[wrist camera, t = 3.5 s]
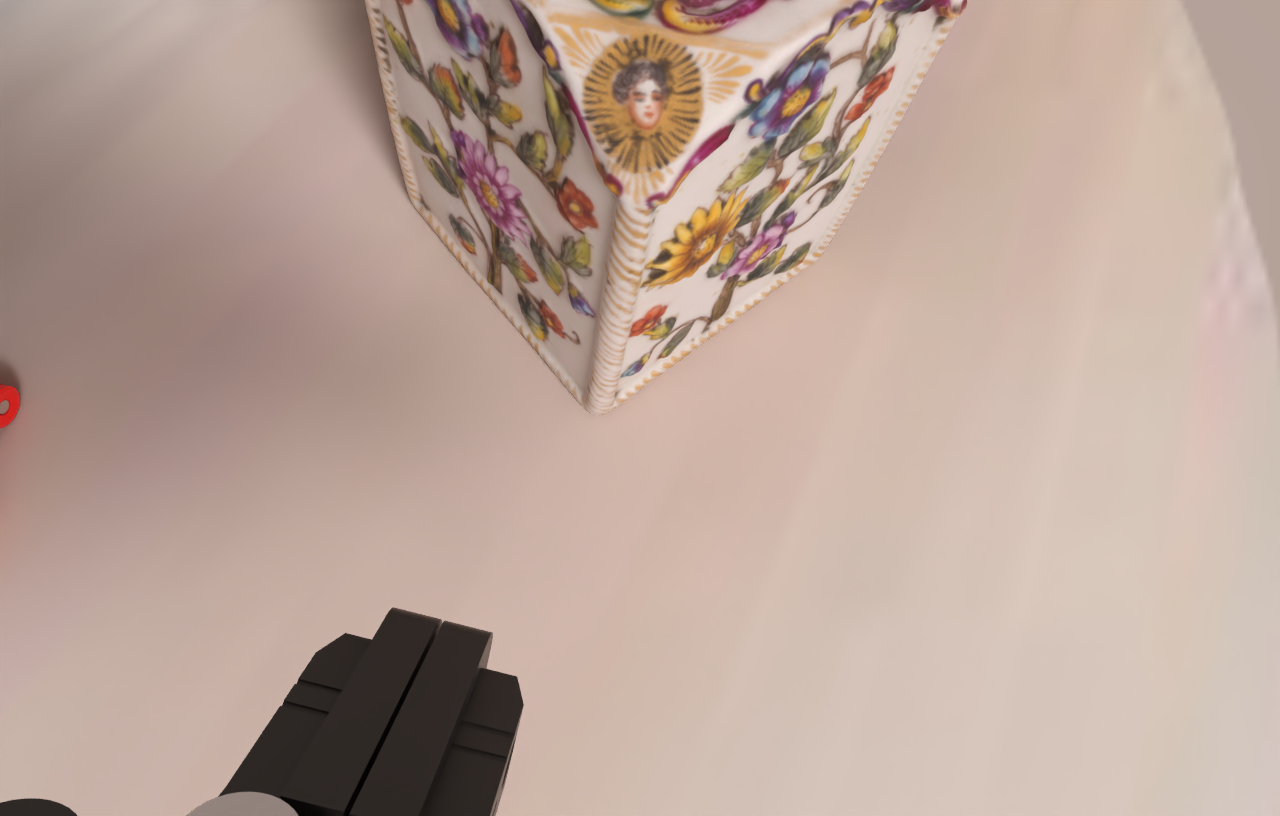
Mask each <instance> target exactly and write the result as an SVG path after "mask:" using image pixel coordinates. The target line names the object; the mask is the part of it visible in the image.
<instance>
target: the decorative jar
mask: <svg viewBox="0 0 1280 816" xmlns="http://www.w3.org/2000/svg"><path fill="white" fill-rule="evenodd" d="M364 1H365V6H366V11H367V14H368V19H369V25H370V30H371V36H372V40H373V46H374V49H375V52H376V55H375V56H376V59H377V63H378V70H379V75H380V80H381V84H382V89H383V94H384V96H385V103H386V107H387V111H388V117H389V120H390V126H391V130H392V135H393V137H394V142H395V145H396V150H397V156H398V158H399V163H400V165H401V170H402V173H403V177H404V182H405V185H406V189H407V193H408V195H409V198H410V200H411V203H412V204H413V205H414V207H415V208H416V210H417V211H418V212H419V214H421V215H422V217H423V219H424V220H425V221H426V222H427V223H428V224H429V225H430V226H431V228H432V229H433V231H434V232H435V233H436V234H437V235H438V236H439V238H440V239H441V240H442V242H443V243H444V244H445V245H446V246H447V248H448V249H449V250H450V251H451V253H452V254H453V255H454V256H455V258H456V259H457V260H458V261H459V262H460V263H461V264H462V266H463V267H464V268H465V270H466V271H467V272H468V273H469V274H470V275H471V277H472V278H473V279H474V280H475V281H476V282H477V284H478V285H479V286H480V287H481V288H482V289H483V290H484V291H485V293H486V294H487V295H488V296H489V297H490V298H491V299H492V301H493V302H494V303H495V304H496V305H497V306H498V308H499V309H500V310H501V311H502V312H503V313H504V315H505V316H506V317H507V318H508V320H509V321H510V322H511V323H512V324H513V325H514V326H515V327H516V328H517V330H518V331H519V332H520V333H521V334H522V335H523V337H524V338H525V339H526V340H527V341H528V342H529V343H530V344H531V345H532V347H533V348H534V349H535V350H536V351H537V352H538V354H539V355H540V356H541V357H542V358H543V359H544V361H545V362H546V363H547V365H548V366H549V367H550V368H551V369H552V371H553V372H554V373H555V375H556V376H557V377H558V378H559V379H560V380H561V381H562V382H563V383H564V385H565V386H566V387H567V389H568V390H569V391H570V392H571V394H572V395H573V396H574V397H575V398H576V400H577V401H578V402H579V403H580V404H581V405H582V406H583V407H584V408H585V409H586V410H587V411H588V412H589V413H591V414H593V415H597V416H599V415H603V414H605V413H608V412H610V411H612V410H613V409H614V408H616V407H617V406H619V405H620V404H621V403H622V402H624V401H625V400H627V399H628V398H630V397H631V396H632V395H634V394H635V393H636V392H638V391H639V390H640V389H641V388H643V387H644V386H646V385H647V384H648V383H649V382H651V381H652V380H653V379H655V378H656V377H657V376H659V375H661V374H662V373H663V372H664V371H666V370H667V369H668V368H670V367H672V366H673V365H674V364H676V363H677V362H679V361H680V360H681V359H683V358H684V357H685V356H687V355H688V354H689V353H690V352H692V351H693V350H694V349H696V348H697V347H699V346H700V345H701V344H703V343H704V342H706V341H707V340H709V339H710V338H711V337H713V336H714V335H716V334H717V333H719V332H720V331H721V330H723V329H724V328H726V327H727V326H728V325H729V324H730V323H732V322H734V321H735V320H736V319H738V318H739V317H740V316H742V315H743V314H744V313H746V312H747V311H748V310H750V309H751V308H753V307H754V306H755V305H756V304H757V303H759V302H760V301H762V300H763V299H764V298H765V297H767V296H768V295H769V294H770V293H772V292H773V291H775V290H776V289H777V288H779V287H780V286H781V285H783V284H784V283H786V282H787V281H788V280H790V279H791V278H793V277H794V276H796V275H797V274H798V273H800V272H801V271H802V270H803V269H805V268H806V267H808V266H810V265H811V264H813V263H814V262H815V261H817V260H818V259H819V258H820V256H821V255H822V254H823V253H824V251H825V249H826V247H827V246H828V244H829V243H830V242H831V240H832V238H833V236H834V235H835V233H836V232H837V230H838V228H839V227H840V225H841V223H842V221H843V220H844V218H845V216H846V215H847V213H848V211H849V210H850V208H851V207H852V205H853V203H854V202H855V200H856V198H857V196H858V195H859V193H860V191H861V190H862V189H863V186H864V185H865V183H866V182H867V179H868V177H869V176H870V175H871V173H872V170H873V169H874V167H875V166H876V164H877V161H878V160H879V159H880V157H881V155H882V153H883V151H884V150H885V148H886V146H887V144H888V143H889V141H890V139H891V137H892V135H893V133H894V132H895V130H896V128H897V126H898V124H899V123H900V121H901V119H902V118H903V116H904V115H905V113H906V110H907V108H908V107H909V105H910V103H911V101H912V99H913V97H914V96H915V94H916V92H917V90H918V88H919V86H920V84H921V82H922V81H923V79H924V77H925V75H926V73H927V71H928V69H929V67H930V65H931V64H932V62H933V60H934V58H935V57H936V55H937V54H938V52H939V50H940V48H941V46H942V44H943V42H944V40H945V39H946V37H947V35H948V33H949V31H950V29H951V28H952V26H953V24H954V22H955V20H956V19H957V17H958V16H959V15H961V14H962V12H963V11H964V9H965V8H966V5H967V0H364Z"/></svg>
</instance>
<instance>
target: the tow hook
mask: <svg viewBox="0 0 1280 816" xmlns="http://www.w3.org/2000/svg"><path fill="white" fill-rule="evenodd" d="M19 406H20V396H19V393H18V391H17V390H16V389H15V388H14V387H11V386H7V385H3V384H0V428H3V427H5V426H7V425H8V424H9V423H11V421H12V420H13V419H14V418H15V416H16V414H17V412H18V410H19Z"/></svg>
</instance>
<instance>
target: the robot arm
mask: <svg viewBox="0 0 1280 816" xmlns="http://www.w3.org/2000/svg"><path fill="white" fill-rule="evenodd" d="M492 638H493V633H492V632H488V631H484V630H480V629H476V628H472V627H468V626H464V625H460V624H456V623H452V622H448V621H444V622H443V623H442V620H441V619H437V618H433V617H429V616H425V615H421V614H417V613H413V612H409V611H406V610H402V609H398V608H392V609H391V610H390V611H389V612H388V614H387V615H386V617H385V619H384V621H383V622H382V624H381V626H380V627H379V629H378V631H377V632H376V634H375V636H374V637H373V639H372V640H371V639H367V638H363V637H359V636H355V635H351V634H347V633H345V634H344V635H342V636H340V637H339V638H337V639H336V640H334V641H333V642H331V643H330V644H328V645H327V646H325V647H324V648H322V649H321V650H319V651H318V652H316V653H315V655H314V656H313V658H312V659H311V661H310V662H309V664H308V665H307V667H306V668H305V670H304V671H303V673H302V674H301V676H300V677H299V679H298V682H297V684H295V685H294V686H293V688H292V689H291V691H290V692H289V694H288V695H287V697H286V698H285V700H284V702H283V705H282V706H280V707H279V709H278V710H277V712H276V713H275V715H274V716H273V718H272V719H271V720H270V722H269V723H268V725H267V726H266V728H265V729H264V731H263V732H262V734H261V735H260V737H259V738H258V740H257V741H256V743H255V744H254V746H253V747H252V749H251V750H250V752H249V753H248V755H247V756H246V758H245V759H244V761H243V762H242V764H241V765H240V767H239V768H238V770H237V771H236V773H235V774H234V776H233V777H232V779H231V780H230V782H229V783H228V785H227V786H226V788H225V789H224V790H223V791H222V793H221V794H220V795H219V796H218V797H216V798H214V799H212V800H209V801H207V802H205V803H203V804H202V805H200V806H198V807H197V808H195V809H194V810H193V811H191V812H190V813H189V814H188V815H187V816H495V815H496V812H497V809H498V805H499V802H500V798H501V795H502V792H503V788H504V785H505V781H506V777H507V773H508V769H509V765H510V760H511V756H512V752H513V748H514V743H515V739H516V735H517V731H518V727H519V722H520V718H521V714H522V710H523V706H524V705H523V700H522V696H521V692H520V687H519V683H518V679H517V677H516V676H512V675H508V674H504V673H500V672H496V671H492V670H488V669H486V667H487V663H488V658H489V653H490V649H491V644H492ZM0 816H77V815H76V813H74V812H73V811H72V810H71V809H70V808H68V807H66V806H64V805H62V804H60V803H57V802H54V801H51V800H44V799H18V800H11V801H6V802H2V803H0Z"/></svg>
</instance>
